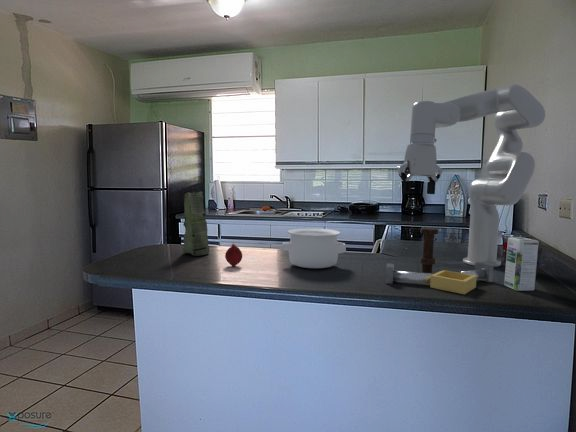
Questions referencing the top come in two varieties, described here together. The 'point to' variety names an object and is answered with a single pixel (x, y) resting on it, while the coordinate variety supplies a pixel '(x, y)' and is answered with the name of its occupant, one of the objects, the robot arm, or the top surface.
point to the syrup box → (521, 263)
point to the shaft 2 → (482, 272)
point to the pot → (313, 247)
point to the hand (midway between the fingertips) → (418, 193)
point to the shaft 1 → (406, 276)
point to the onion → (233, 255)
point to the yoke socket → (453, 281)
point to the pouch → (195, 225)
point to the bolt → (428, 249)
